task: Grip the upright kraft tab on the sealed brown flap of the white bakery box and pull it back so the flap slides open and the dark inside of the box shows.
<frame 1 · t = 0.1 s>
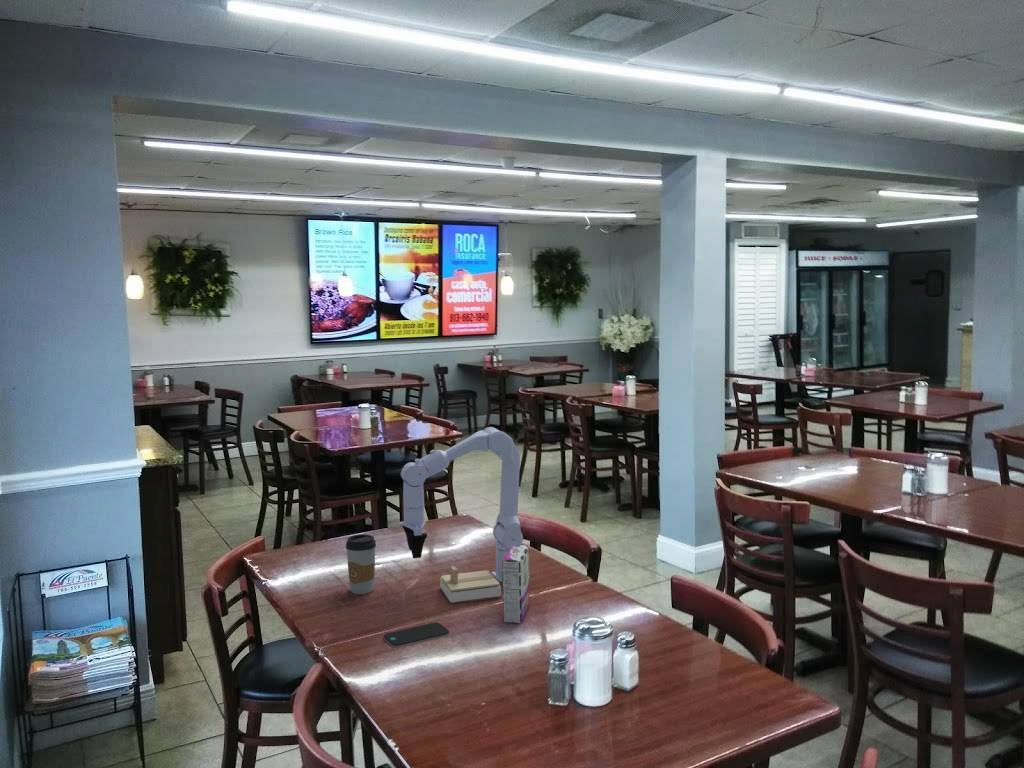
hand: (414, 553, 221), 10 cm above the table, fingers open, 7 cm apart
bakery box: (470, 593, 218), on the table
smartphone: (416, 637, 190), on the table
coffee cup: (362, 591, 220), on the table
candy bar box: (516, 615, 202), on the table
flap: (469, 573, 217), point 5 cm above the table, slide at 0.0 cm
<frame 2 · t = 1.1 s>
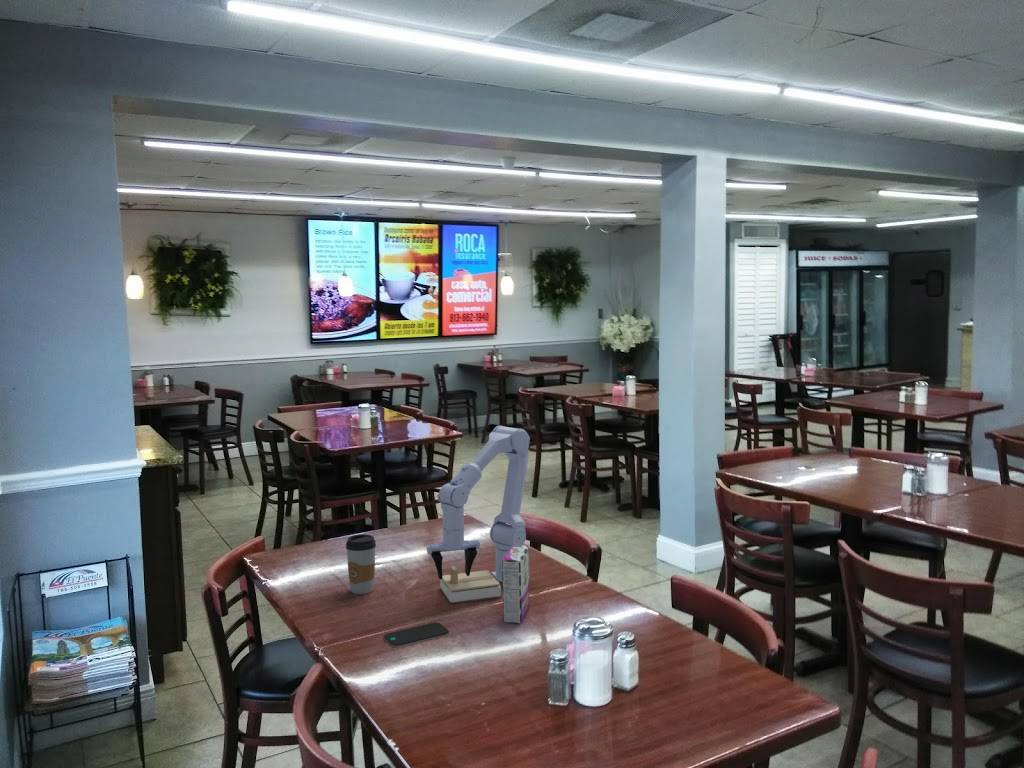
hand: (453, 576, 216), 5 cm above the table, fingers open, 7 cm apart
nothing on the table moved.
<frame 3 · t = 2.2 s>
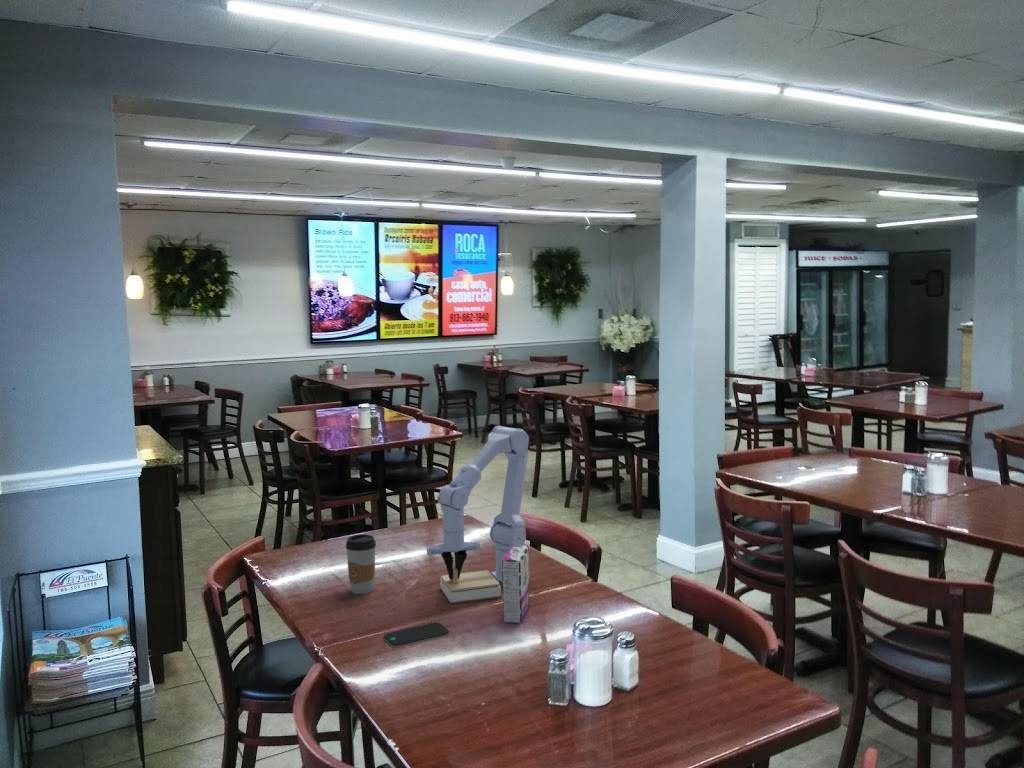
hand: (454, 578, 216), 5 cm above the table, fingers closed on flap
flap: (469, 573, 217), point 5 cm above the table, slide at 0.0 cm, touching gripper
everything else where it was.
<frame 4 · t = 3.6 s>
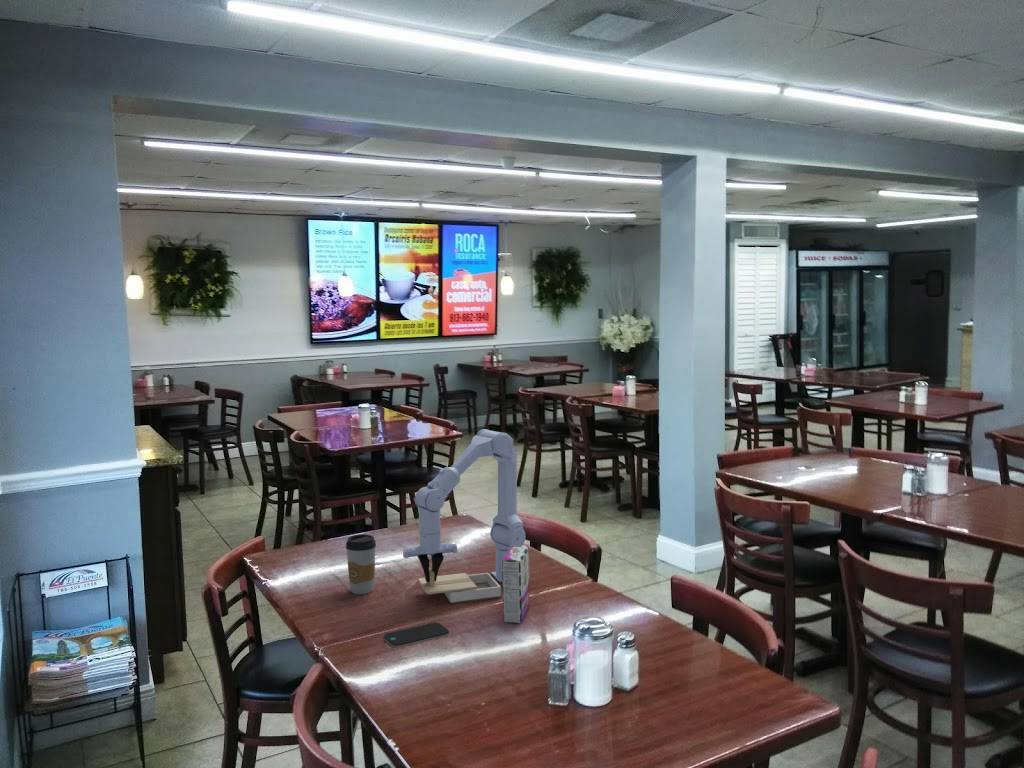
hand: (430, 580, 214), 5 cm above the table, fingers closed on flap
flap: (446, 576, 215), point 5 cm above the table, slide at 6.5 cm, touching gripper
everything else where it was.
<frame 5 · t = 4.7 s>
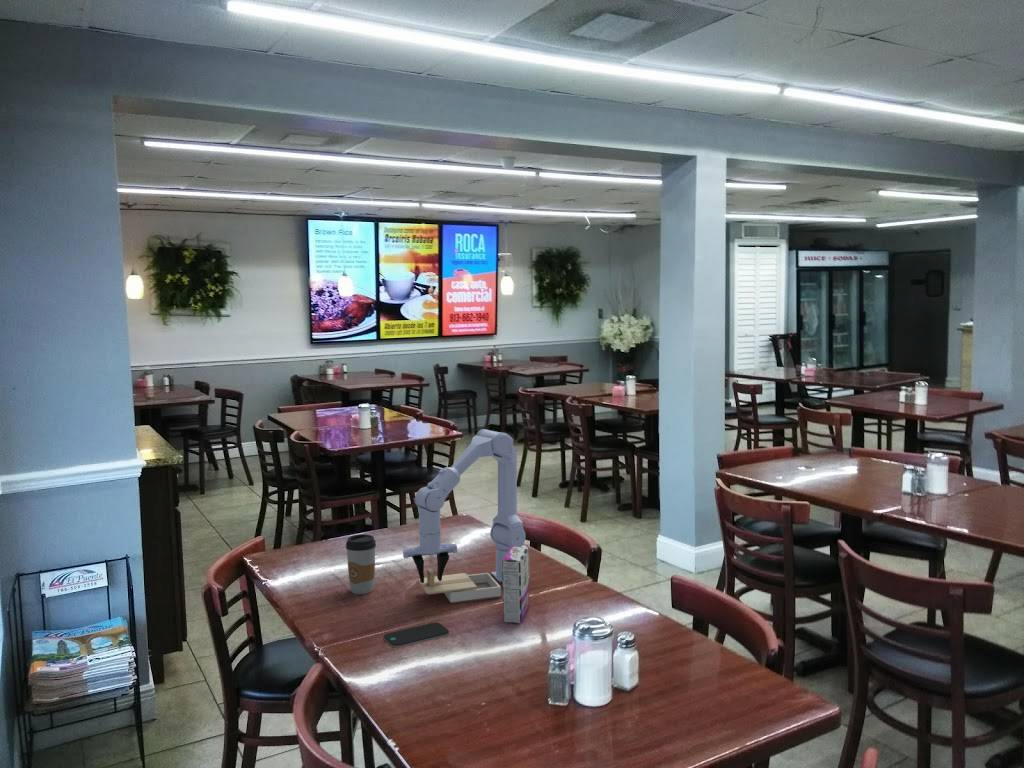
hand: (430, 580, 214), 5 cm above the table, fingers open, 4 cm apart
flap: (446, 576, 215), point 5 cm above the table, slide at 6.5 cm
everything else where it was.
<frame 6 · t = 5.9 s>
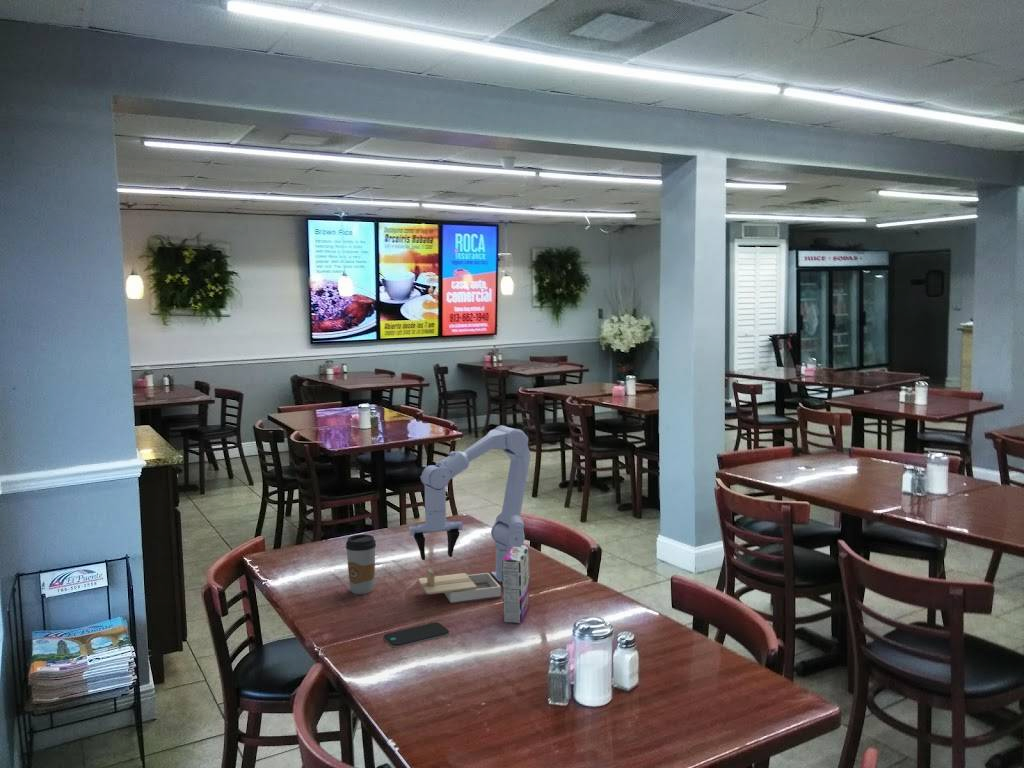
hand: (436, 557, 218), 10 cm above the table, fingers open, 7 cm apart
nothing on the table moved.
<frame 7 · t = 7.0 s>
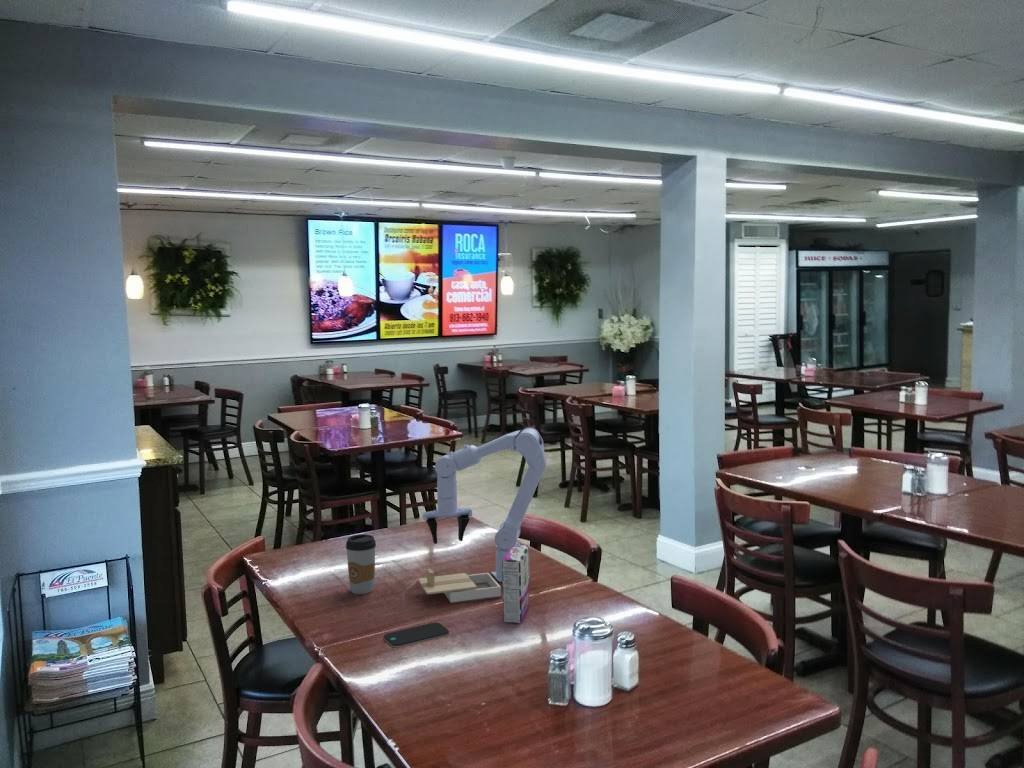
hand: (447, 541, 232), 10 cm above the table, fingers open, 7 cm apart
nothing on the table moved.
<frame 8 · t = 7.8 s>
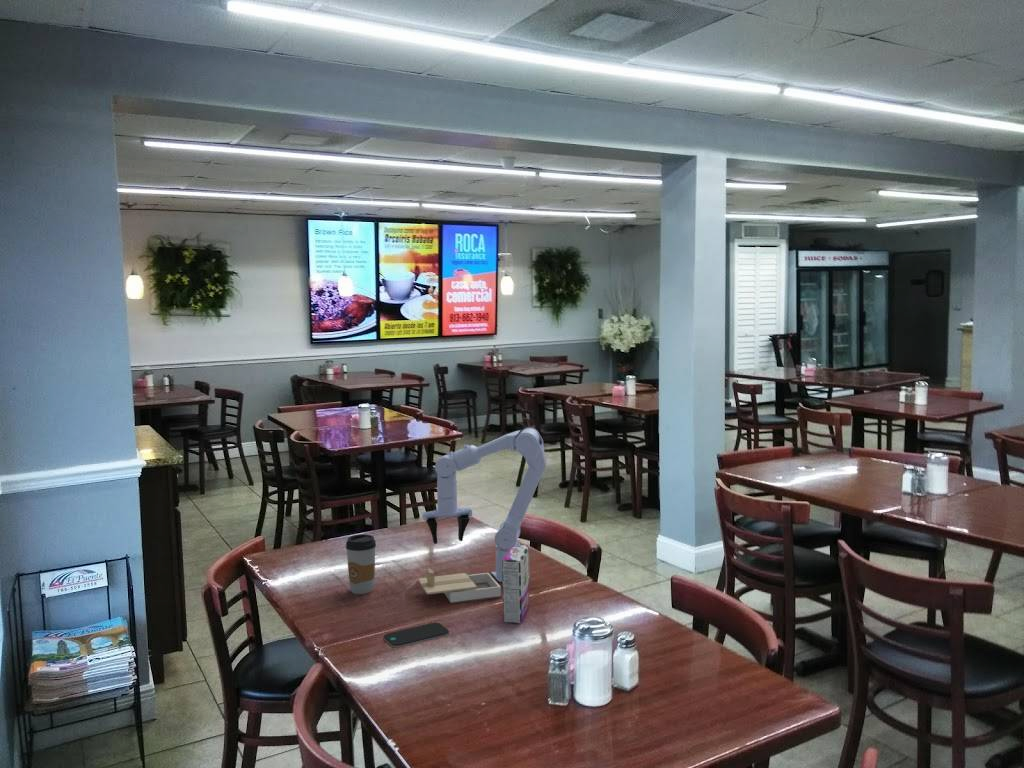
hand: (447, 541, 232), 10 cm above the table, fingers open, 7 cm apart
nothing on the table moved.
at the end: flap slide at 6.5 cm; the gripper is holding nothing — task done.
